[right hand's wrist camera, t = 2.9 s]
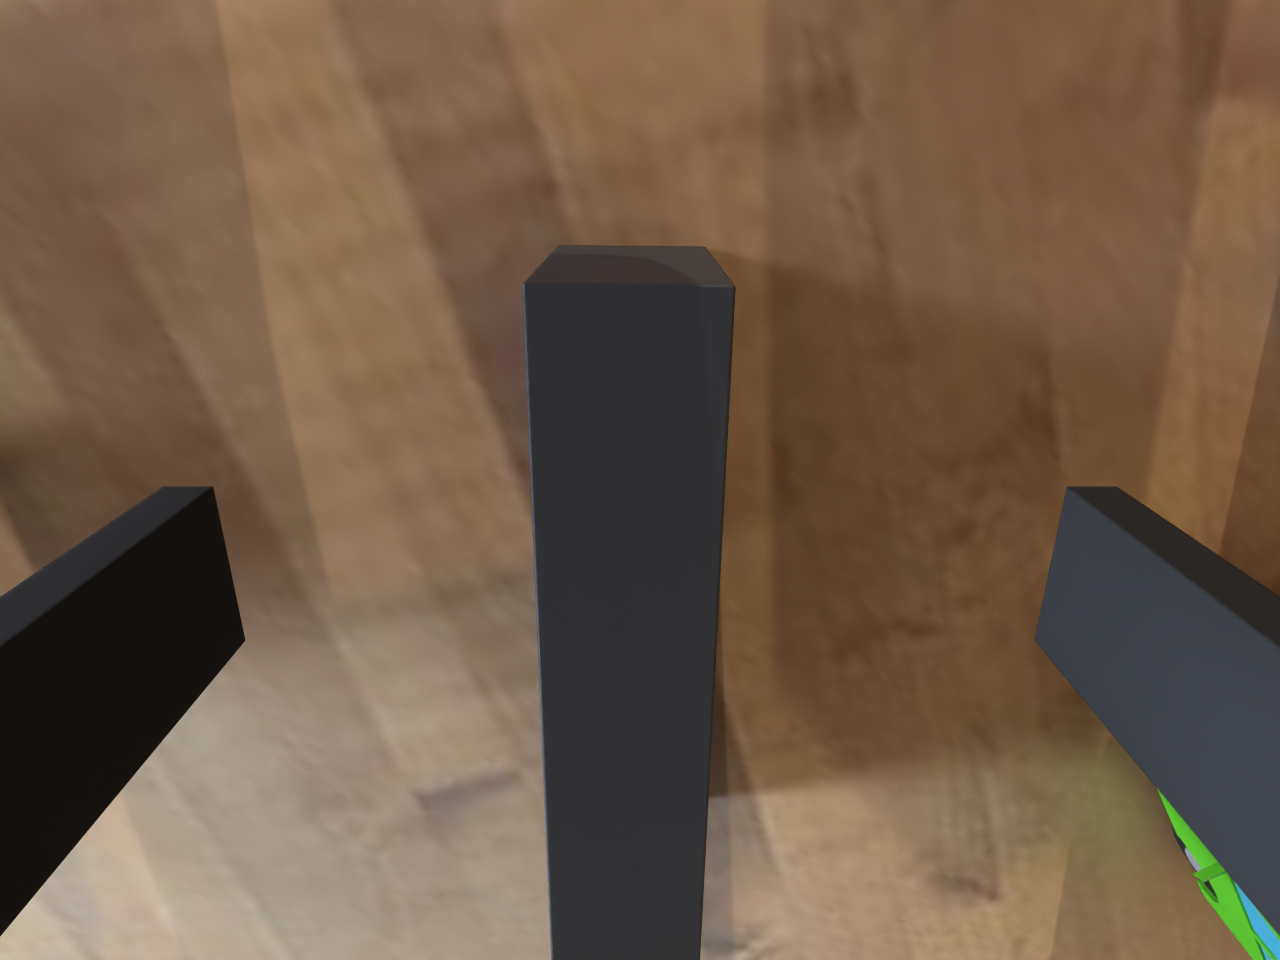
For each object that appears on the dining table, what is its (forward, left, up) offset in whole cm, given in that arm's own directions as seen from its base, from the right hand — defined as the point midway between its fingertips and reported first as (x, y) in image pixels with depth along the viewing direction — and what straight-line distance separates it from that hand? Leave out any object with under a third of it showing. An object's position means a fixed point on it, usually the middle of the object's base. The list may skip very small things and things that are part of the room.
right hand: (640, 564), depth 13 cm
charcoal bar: (0, -9, -17) cm, 19 cm away
